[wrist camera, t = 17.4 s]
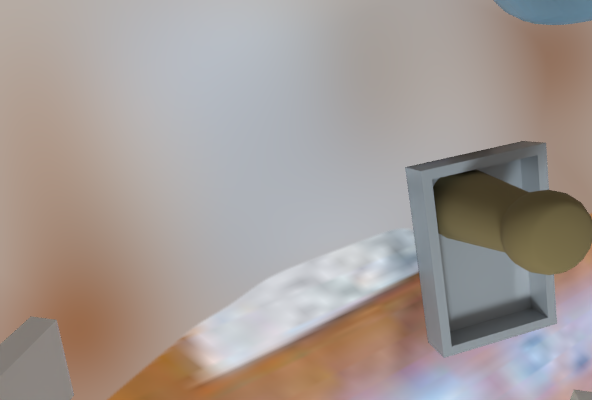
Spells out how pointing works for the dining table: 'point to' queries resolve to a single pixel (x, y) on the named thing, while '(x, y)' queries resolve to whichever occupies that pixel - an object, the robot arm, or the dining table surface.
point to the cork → (514, 221)
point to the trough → (477, 259)
